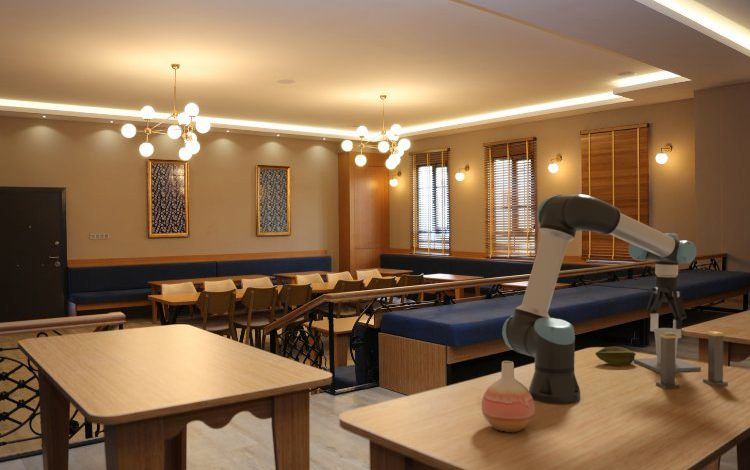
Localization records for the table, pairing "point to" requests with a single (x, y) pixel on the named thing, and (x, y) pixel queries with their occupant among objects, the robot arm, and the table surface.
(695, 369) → the pad
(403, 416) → the table surface
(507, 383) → the vase
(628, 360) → the fruit
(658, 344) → the cup
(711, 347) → the post
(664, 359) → the post
